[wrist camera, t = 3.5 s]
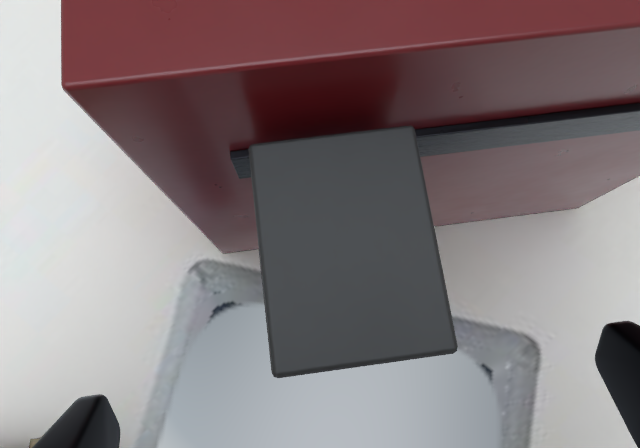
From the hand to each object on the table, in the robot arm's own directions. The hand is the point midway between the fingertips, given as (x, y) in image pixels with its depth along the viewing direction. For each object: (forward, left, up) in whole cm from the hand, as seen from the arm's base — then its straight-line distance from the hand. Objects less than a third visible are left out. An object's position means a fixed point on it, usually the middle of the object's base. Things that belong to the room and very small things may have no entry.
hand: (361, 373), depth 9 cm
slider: (+2, 0, -3) cm, 4 cm away
